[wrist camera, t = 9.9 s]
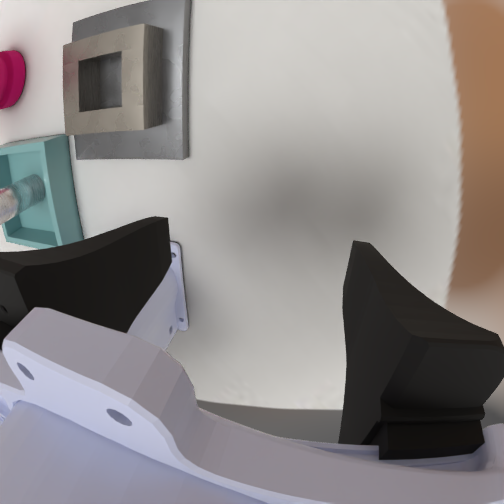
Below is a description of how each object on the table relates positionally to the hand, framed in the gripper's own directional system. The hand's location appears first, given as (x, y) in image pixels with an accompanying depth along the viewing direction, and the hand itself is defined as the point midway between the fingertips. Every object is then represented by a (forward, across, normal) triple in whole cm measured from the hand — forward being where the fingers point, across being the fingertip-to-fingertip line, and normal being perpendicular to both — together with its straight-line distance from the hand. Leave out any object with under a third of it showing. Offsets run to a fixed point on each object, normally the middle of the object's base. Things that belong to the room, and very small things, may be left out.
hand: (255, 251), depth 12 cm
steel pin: (+10, +24, +2) cm, 26 cm away
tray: (+10, +24, +2) cm, 26 cm away
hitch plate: (+10, +12, -7) cm, 17 cm away
